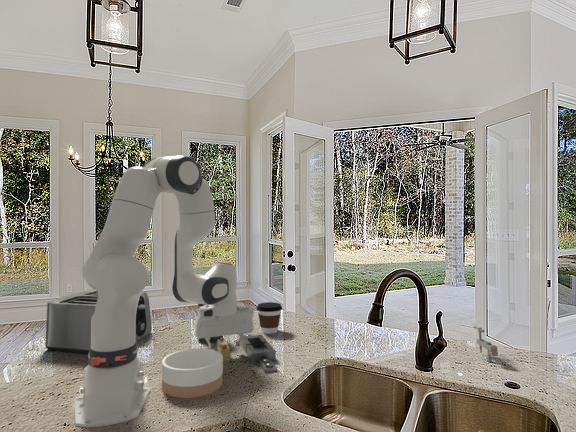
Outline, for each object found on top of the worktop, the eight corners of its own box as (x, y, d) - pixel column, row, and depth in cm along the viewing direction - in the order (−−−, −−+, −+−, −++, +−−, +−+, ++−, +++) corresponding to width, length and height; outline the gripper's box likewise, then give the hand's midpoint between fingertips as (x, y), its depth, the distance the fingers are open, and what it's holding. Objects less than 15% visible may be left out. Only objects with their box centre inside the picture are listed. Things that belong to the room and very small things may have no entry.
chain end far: (236, 340, 153) (236, 330, 153) (256, 338, 156) (256, 328, 156) (245, 355, 137) (245, 344, 137) (267, 353, 140) (267, 342, 140)
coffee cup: (253, 330, 167) (253, 302, 167) (278, 328, 170) (278, 301, 170) (259, 338, 156) (259, 308, 156) (285, 335, 160) (285, 306, 160)
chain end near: (282, 372, 123) (282, 359, 123) (258, 375, 120) (258, 362, 120) (268, 354, 139) (268, 342, 139) (246, 356, 136) (246, 345, 136)
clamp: (498, 365, 128) (497, 334, 129) (492, 365, 128) (490, 334, 129) (478, 352, 143) (477, 325, 144) (472, 352, 143) (471, 325, 144)
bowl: (198, 370, 124) (198, 344, 124) (235, 385, 114) (235, 356, 114) (149, 388, 111) (149, 359, 111) (185, 407, 100) (185, 375, 100)
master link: (229, 363, 130) (229, 346, 130) (220, 364, 129) (220, 347, 129) (225, 352, 141) (225, 336, 141) (216, 353, 140) (216, 337, 140)
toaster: (110, 361, 132) (110, 306, 132) (32, 354, 139) (32, 301, 139) (156, 335, 160) (156, 290, 160) (89, 330, 167) (89, 287, 167)
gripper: (251, 303, 141) (251, 341, 142) (194, 308, 135) (194, 347, 135) (255, 307, 135) (255, 346, 136) (195, 313, 129) (196, 354, 129)
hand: (224, 347), depth 135 cm, fingers open, 8 cm apart
